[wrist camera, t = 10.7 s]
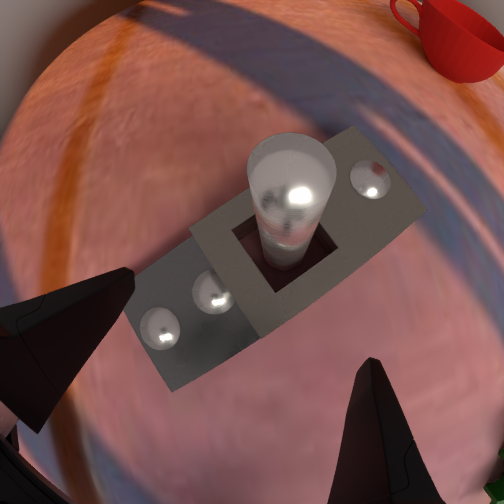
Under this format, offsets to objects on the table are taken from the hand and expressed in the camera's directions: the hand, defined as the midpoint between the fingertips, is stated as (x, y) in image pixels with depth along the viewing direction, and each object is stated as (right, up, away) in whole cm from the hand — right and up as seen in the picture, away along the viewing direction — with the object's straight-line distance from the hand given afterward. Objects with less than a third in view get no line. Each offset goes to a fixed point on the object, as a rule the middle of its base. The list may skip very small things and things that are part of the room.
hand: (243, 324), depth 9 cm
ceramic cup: (+26, +29, +17) cm, 42 cm away
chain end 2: (+5, +4, +13) cm, 14 cm away
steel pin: (+3, +3, +12) cm, 13 cm away
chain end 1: (-1, 0, +12) cm, 12 cm away
